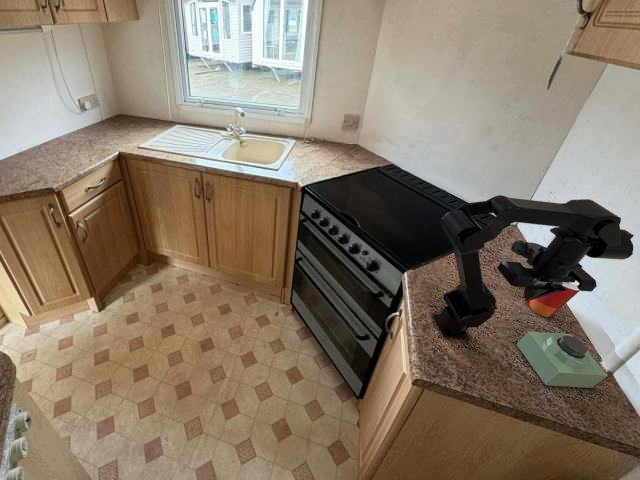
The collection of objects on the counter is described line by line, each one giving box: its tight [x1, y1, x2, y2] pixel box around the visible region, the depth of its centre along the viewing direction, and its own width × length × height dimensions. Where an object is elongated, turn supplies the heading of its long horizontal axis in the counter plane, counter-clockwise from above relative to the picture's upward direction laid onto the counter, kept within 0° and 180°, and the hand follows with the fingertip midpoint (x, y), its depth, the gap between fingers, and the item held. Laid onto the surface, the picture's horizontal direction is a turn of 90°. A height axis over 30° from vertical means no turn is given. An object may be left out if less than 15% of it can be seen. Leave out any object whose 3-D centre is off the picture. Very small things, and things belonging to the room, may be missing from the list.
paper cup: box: [528, 281, 581, 318], centre depth 87 cm, size 8×8×14 cm
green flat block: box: [515, 331, 609, 389], centre depth 74 cm, size 11×10×8 cm
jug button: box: [558, 335, 588, 358], centre depth 72 cm, size 4×4×2 cm
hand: (526, 298), depth 76 cm, fingers closed
